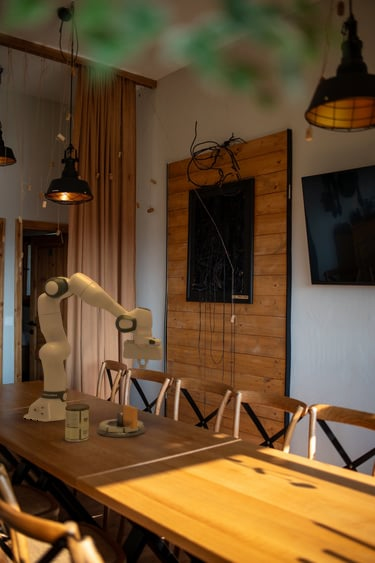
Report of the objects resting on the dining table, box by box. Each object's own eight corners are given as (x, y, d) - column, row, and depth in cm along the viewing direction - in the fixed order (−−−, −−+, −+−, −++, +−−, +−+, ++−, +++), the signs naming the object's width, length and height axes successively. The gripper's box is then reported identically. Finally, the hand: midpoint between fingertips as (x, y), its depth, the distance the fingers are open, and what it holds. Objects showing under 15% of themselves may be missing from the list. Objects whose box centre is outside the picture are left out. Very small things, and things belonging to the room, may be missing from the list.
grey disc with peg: (88, 435, 240) (88, 416, 241) (109, 424, 261) (109, 406, 262) (134, 439, 234) (134, 419, 234) (152, 428, 255) (152, 409, 255)
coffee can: (69, 435, 240) (69, 403, 240) (91, 436, 239) (92, 404, 239) (61, 441, 230) (62, 408, 230) (85, 442, 229) (85, 408, 229)
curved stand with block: (93, 425, 250) (93, 402, 250) (128, 420, 261) (129, 398, 261) (116, 436, 232) (116, 410, 232) (153, 430, 243) (153, 406, 244)
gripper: (121, 339, 265) (120, 368, 265) (160, 341, 259) (159, 370, 259) (126, 339, 271) (125, 366, 271) (164, 340, 265) (164, 368, 265)
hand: (142, 368), depth 265 cm, fingers closed
